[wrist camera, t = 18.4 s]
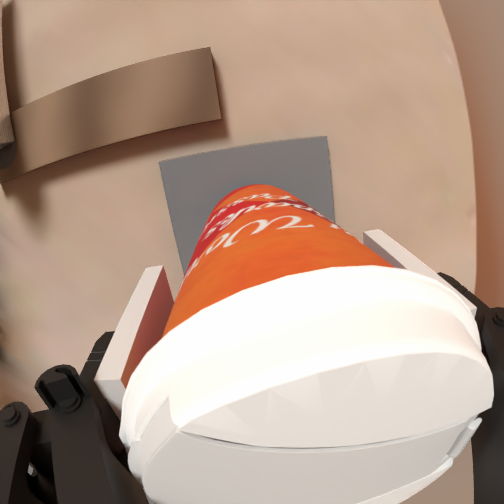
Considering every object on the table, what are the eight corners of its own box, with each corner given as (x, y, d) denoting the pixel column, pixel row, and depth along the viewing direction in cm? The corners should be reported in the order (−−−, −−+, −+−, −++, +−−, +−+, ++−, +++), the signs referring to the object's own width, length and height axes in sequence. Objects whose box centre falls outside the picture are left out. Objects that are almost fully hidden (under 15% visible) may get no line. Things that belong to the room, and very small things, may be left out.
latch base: (0, 183, 17) (-9, 186, 16) (-10, 128, 16) (-20, 129, 15) (221, 119, 18) (221, 118, 17) (210, 51, 16) (209, 46, 15)
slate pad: (194, 303, 22) (193, 309, 21) (161, 160, 18) (158, 162, 18) (333, 279, 22) (337, 285, 21) (322, 135, 18) (326, 136, 18)
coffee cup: (325, 158, 17) (566, 271, 3) (325, 288, 20) (437, 498, 6) (174, 171, 17) (5, 347, 3) (195, 302, 20) (172, 546, 6)
